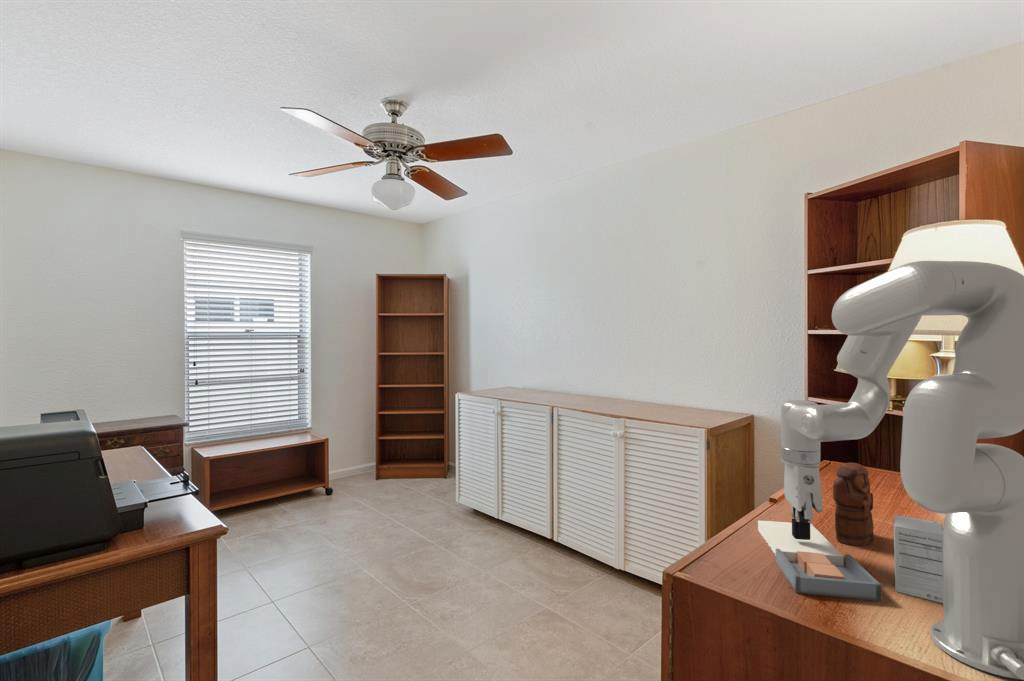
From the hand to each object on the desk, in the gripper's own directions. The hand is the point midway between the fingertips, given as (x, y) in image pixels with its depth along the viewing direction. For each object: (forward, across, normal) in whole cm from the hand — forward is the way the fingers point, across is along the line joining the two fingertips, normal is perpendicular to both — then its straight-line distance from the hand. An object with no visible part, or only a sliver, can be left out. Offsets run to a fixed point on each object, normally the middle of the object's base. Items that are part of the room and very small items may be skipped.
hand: (801, 537), depth 108 cm
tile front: (+3, -14, 0) cm, 14 cm away
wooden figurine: (+4, +11, -15) cm, 19 cm away
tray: (+3, -12, 0) cm, 13 cm away
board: (+3, +3, 0) cm, 5 cm away
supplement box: (+4, -13, -16) cm, 21 cm away
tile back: (+3, -8, 0) cm, 9 cm away
